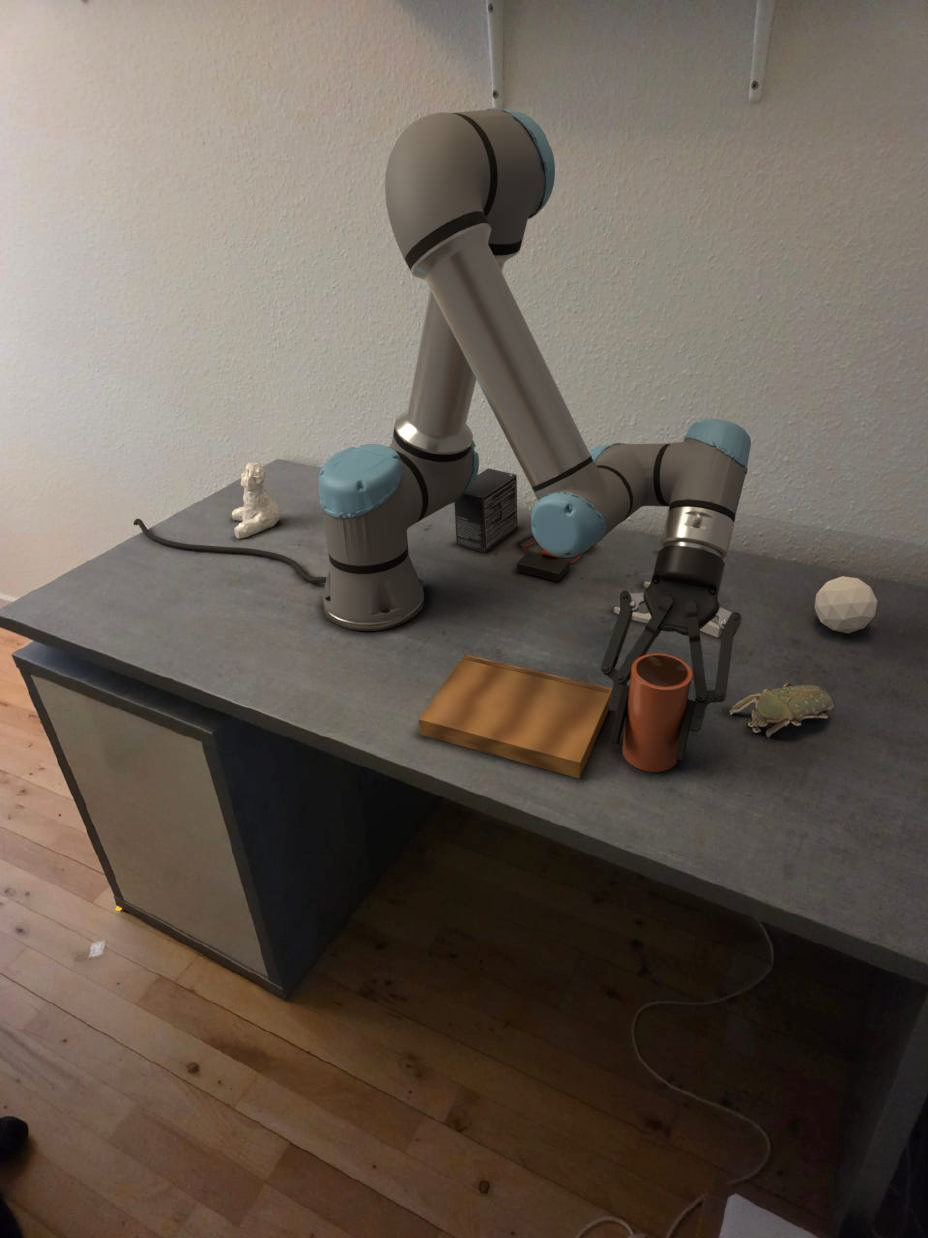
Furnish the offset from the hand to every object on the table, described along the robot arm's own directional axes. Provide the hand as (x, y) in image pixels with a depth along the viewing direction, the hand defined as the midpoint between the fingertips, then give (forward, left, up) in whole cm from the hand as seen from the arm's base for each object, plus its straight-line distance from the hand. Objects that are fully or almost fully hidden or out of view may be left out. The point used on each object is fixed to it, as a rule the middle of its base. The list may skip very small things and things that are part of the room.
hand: (646, 750), depth 87 cm
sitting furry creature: (-79, +37, -4) cm, 87 cm away
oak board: (-16, +4, -4) cm, 17 cm away
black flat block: (-26, +46, -4) cm, 53 cm away
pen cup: (0, +4, -3) cm, 5 cm away
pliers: (-3, +34, -4) cm, 34 cm away
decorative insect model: (+13, +16, -4) cm, 21 cm away
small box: (-38, +47, -4) cm, 60 cm away
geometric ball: (+19, +39, -4) cm, 43 cm away
